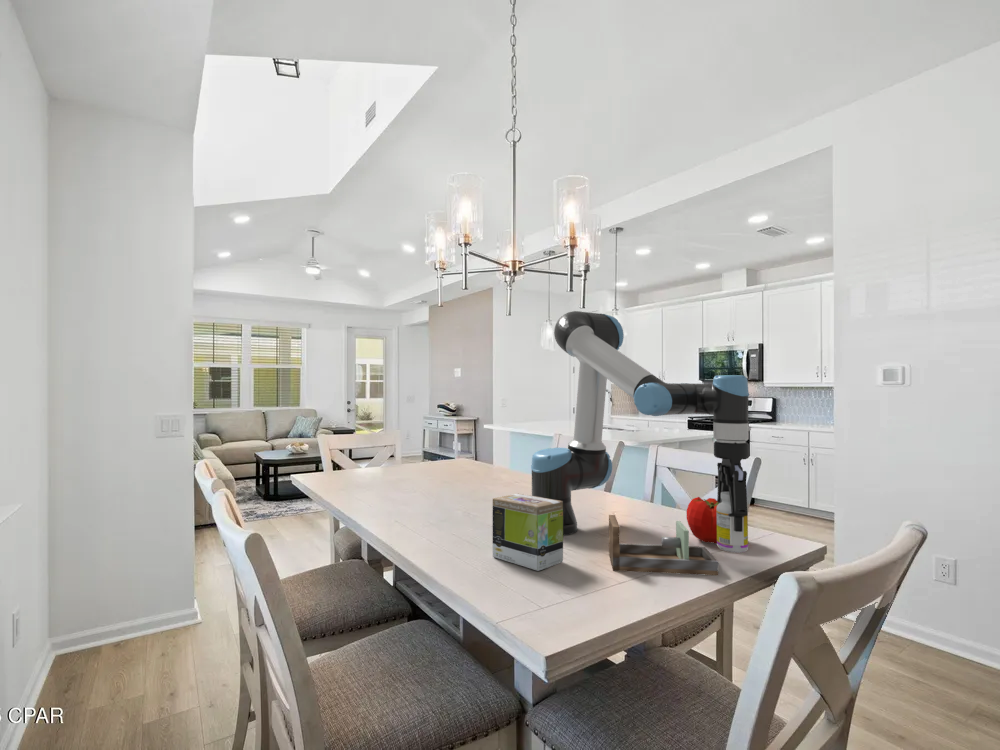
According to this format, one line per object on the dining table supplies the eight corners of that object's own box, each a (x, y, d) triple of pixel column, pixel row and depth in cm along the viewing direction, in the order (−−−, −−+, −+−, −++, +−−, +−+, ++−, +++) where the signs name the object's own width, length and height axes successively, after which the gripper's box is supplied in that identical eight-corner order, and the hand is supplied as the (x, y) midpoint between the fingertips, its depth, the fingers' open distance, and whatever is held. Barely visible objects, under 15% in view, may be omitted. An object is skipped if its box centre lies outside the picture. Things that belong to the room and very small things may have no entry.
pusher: (666, 565, 118) (665, 530, 118) (659, 553, 127) (659, 520, 127) (689, 566, 117) (688, 530, 118) (680, 554, 126) (680, 521, 126)
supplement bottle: (743, 545, 123) (743, 491, 123) (751, 554, 117) (751, 497, 117) (714, 543, 124) (713, 490, 125) (720, 552, 118) (719, 495, 118)
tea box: (564, 562, 124) (564, 500, 125) (537, 572, 117) (537, 507, 117) (518, 548, 135) (518, 491, 135) (490, 557, 128) (490, 497, 128)
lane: (612, 570, 118) (612, 526, 119) (609, 555, 129) (608, 514, 130) (718, 575, 115) (717, 530, 116) (705, 559, 126) (704, 517, 127)
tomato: (747, 540, 142) (747, 497, 142) (726, 552, 132) (725, 505, 132) (700, 531, 151) (700, 490, 151) (677, 541, 141) (676, 498, 142)
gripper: (763, 446, 111) (764, 554, 110) (734, 437, 130) (735, 529, 130) (727, 445, 112) (727, 552, 111) (703, 436, 131) (703, 528, 131)
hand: (731, 540), depth 121 cm, fingers closed on supplement bottle, 7 cm apart
